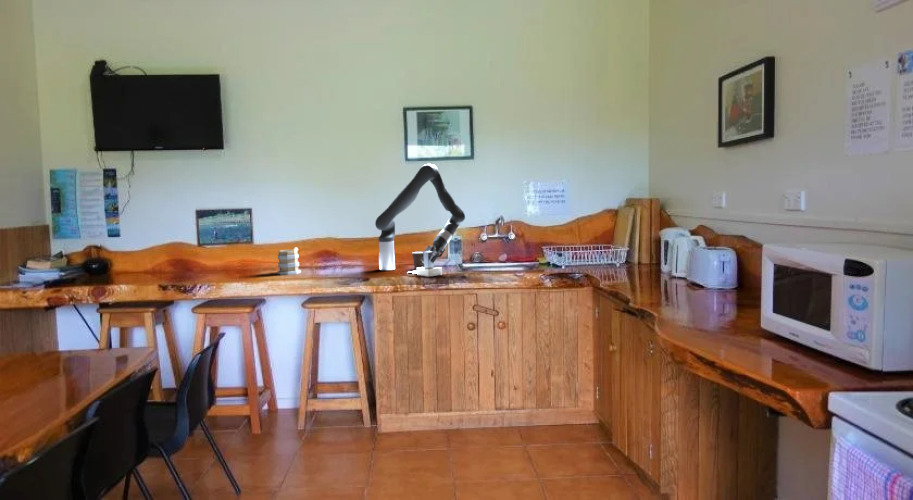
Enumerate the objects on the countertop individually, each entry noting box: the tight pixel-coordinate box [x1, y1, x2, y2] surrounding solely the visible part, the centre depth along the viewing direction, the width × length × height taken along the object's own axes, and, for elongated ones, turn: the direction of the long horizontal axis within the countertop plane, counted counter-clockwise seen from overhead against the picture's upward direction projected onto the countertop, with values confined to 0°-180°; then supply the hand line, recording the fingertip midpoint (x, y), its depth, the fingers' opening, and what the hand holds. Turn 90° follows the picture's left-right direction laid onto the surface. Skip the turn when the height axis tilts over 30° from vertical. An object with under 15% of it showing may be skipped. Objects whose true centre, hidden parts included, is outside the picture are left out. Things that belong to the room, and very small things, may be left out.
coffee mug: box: [412, 251, 424, 270], centre depth 354 cm, size 12×9×10 cm
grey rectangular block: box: [423, 251, 435, 269], centre depth 325 cm, size 4×4×12 cm
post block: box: [407, 266, 443, 278], centre depth 329 cm, size 20×10×4 cm, turn 39°
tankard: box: [276, 246, 302, 276], centre depth 354 cm, size 20×13×15 cm, turn 168°
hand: (426, 261), depth 324 cm, fingers open, 8 cm apart
